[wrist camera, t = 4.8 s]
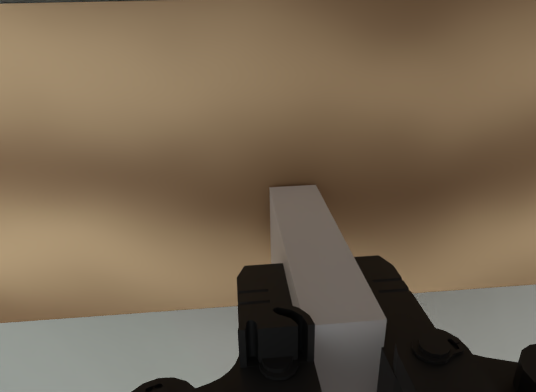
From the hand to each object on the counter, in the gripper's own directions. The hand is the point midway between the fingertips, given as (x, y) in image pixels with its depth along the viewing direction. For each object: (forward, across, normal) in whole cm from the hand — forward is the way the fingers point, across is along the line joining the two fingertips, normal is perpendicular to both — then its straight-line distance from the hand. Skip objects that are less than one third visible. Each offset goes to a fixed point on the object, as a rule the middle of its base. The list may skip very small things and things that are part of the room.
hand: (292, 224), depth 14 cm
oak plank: (+2, 0, +2) cm, 3 cm away
